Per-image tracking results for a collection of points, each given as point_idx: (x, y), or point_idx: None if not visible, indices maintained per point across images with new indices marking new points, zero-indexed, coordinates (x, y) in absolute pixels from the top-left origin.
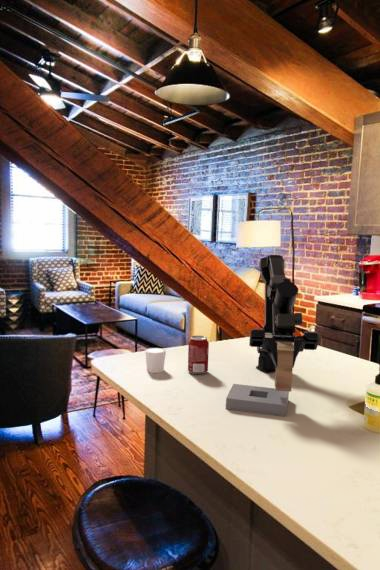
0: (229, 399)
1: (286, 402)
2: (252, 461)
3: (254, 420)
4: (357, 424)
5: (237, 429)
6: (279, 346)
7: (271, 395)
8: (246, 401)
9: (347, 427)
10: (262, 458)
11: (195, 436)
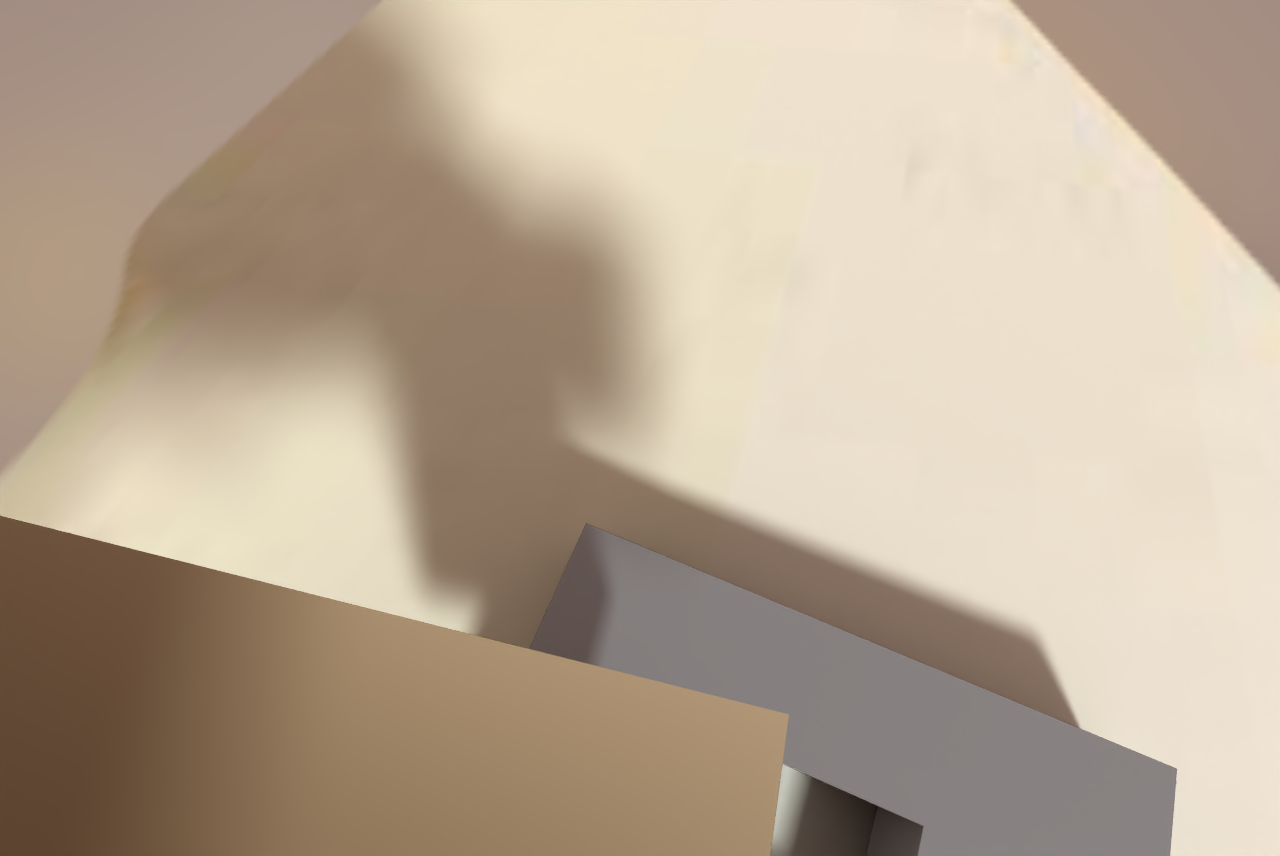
0: (1132, 752)
1: (560, 598)
2: (938, 71)
3: (862, 496)
4: (115, 374)
5: (997, 370)
6: (694, 704)
7: None
8: (955, 679)
9: (226, 338)
10: (887, 86)
11: (1256, 306)
